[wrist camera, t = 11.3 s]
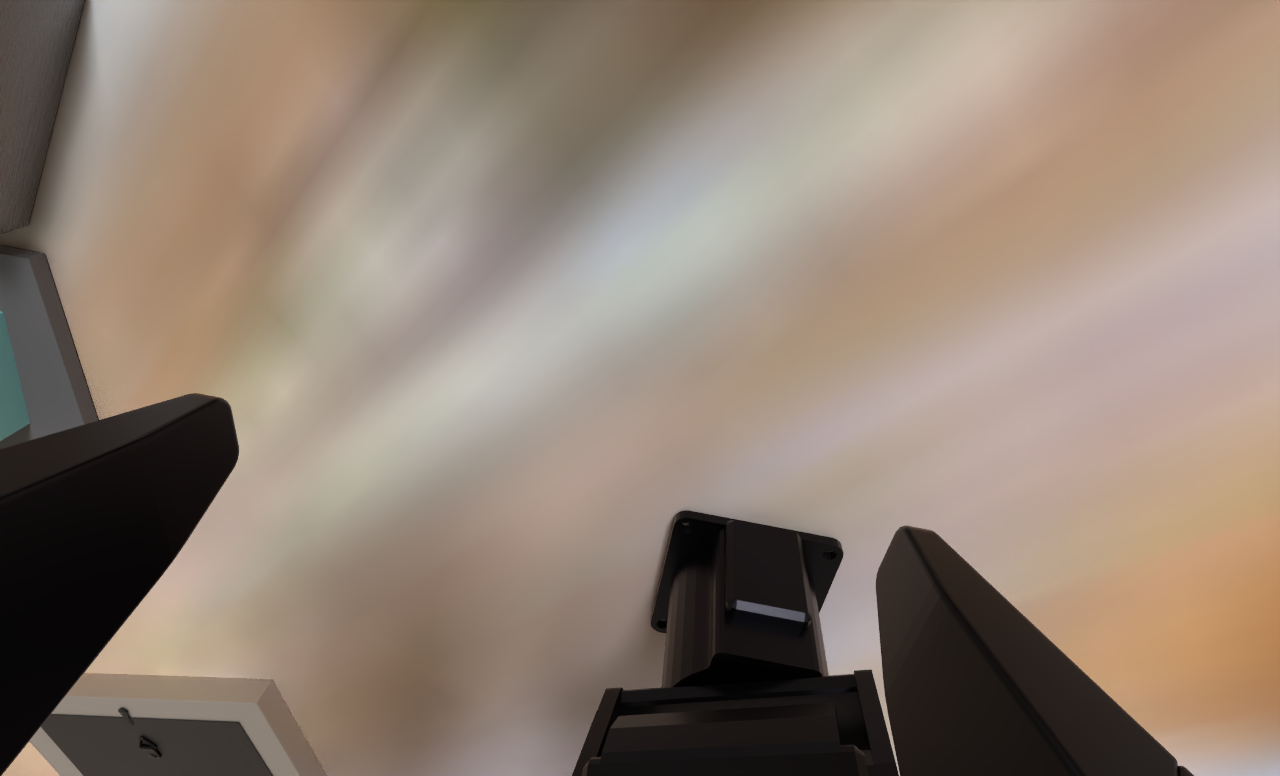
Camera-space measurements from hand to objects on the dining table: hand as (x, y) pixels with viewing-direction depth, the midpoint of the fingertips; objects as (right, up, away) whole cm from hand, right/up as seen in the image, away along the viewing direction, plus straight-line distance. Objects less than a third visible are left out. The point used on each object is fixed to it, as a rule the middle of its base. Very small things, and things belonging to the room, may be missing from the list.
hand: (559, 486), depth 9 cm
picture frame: (-25, -22, +32) cm, 46 cm away
